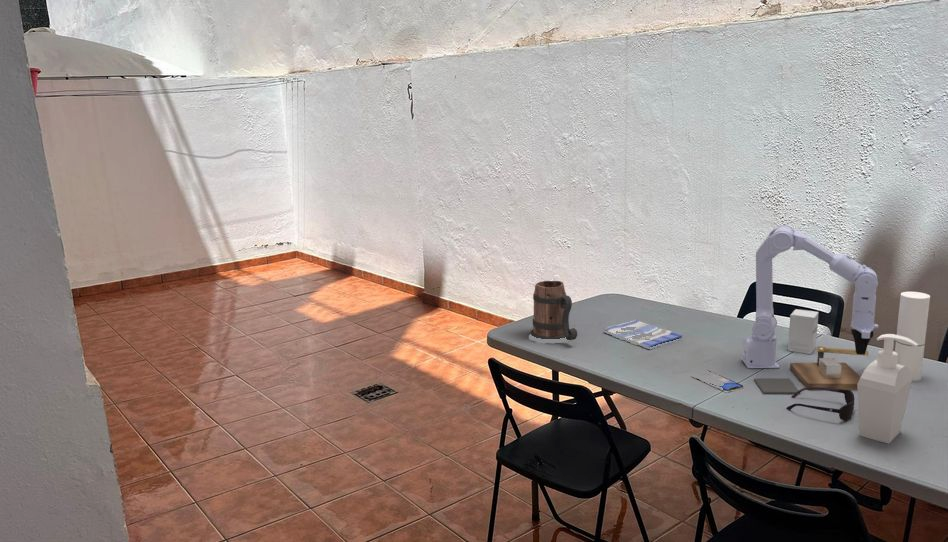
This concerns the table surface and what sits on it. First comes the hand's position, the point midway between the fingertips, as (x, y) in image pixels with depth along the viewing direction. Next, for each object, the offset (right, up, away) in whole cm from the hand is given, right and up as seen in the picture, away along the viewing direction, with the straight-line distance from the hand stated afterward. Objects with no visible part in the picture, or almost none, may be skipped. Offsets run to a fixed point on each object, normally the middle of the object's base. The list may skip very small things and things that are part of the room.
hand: (860, 353), depth 206 cm
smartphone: (-42, -9, +3) cm, 43 cm away
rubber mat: (-26, -9, -3) cm, 28 cm away
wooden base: (-10, -7, 0) cm, 12 cm away
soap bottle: (-13, -16, -33) cm, 39 cm away
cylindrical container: (+13, -7, 0) cm, 15 cm away
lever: (-4, 0, +3) cm, 5 cm away
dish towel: (-54, 0, +44) cm, 70 cm away
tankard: (-85, 0, +46) cm, 96 cm away
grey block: (-10, -6, -1) cm, 12 cm away
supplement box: (-6, -2, +24) cm, 25 cm away
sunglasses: (-21, -13, -18) cm, 31 cm away
